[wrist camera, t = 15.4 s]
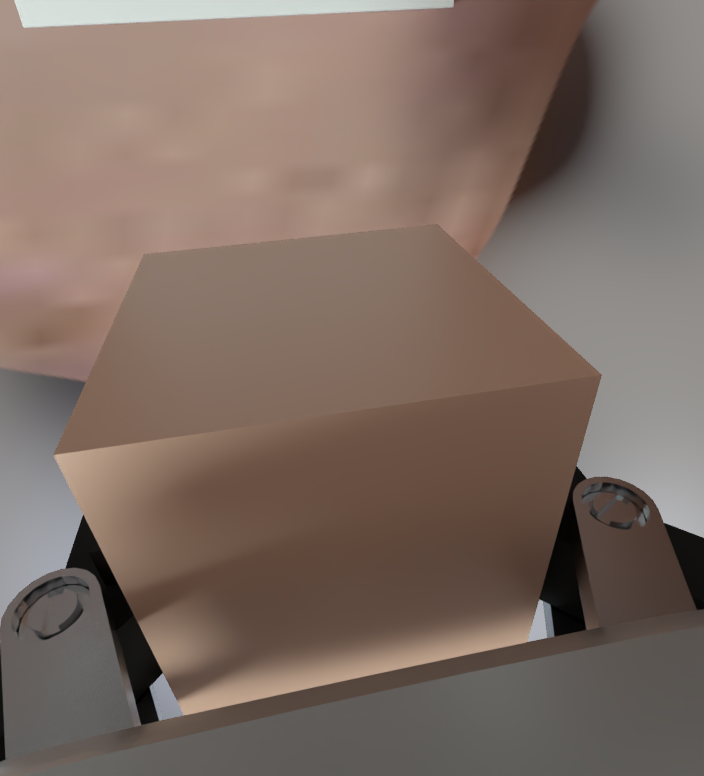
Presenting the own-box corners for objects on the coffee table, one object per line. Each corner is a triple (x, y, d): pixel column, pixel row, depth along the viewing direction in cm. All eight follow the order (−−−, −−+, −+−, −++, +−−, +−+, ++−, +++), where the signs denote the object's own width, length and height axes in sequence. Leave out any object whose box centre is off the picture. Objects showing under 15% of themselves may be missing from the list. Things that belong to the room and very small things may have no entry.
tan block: (144, 254, 10) (53, 455, 5) (437, 224, 11) (601, 374, 6) (221, 526, 15) (212, 770, 10) (423, 491, 15) (509, 702, 10)
